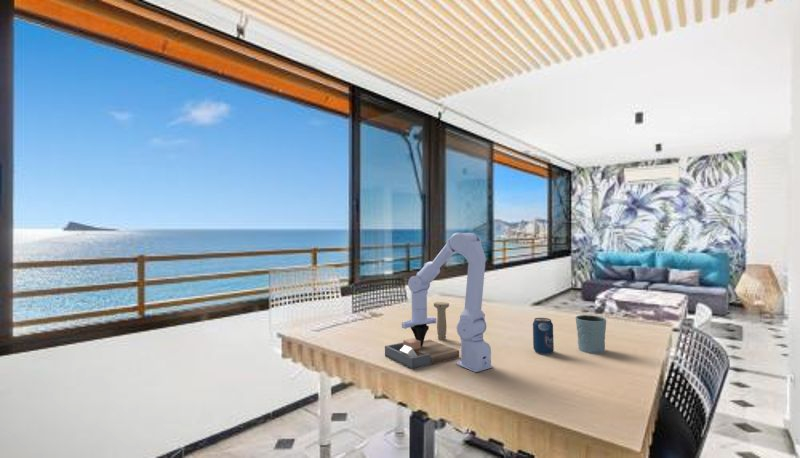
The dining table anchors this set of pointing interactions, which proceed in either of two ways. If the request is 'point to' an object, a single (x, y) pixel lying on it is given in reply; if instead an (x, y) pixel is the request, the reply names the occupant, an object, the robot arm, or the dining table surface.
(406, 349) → the tile cream
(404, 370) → the dining table surface
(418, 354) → the wooden board
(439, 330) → the handle
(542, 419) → the dining table surface
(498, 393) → the dining table surface
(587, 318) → the blue-grey cup
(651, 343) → the dining table surface
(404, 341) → the tile terracotta
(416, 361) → the box
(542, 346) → the soda can
